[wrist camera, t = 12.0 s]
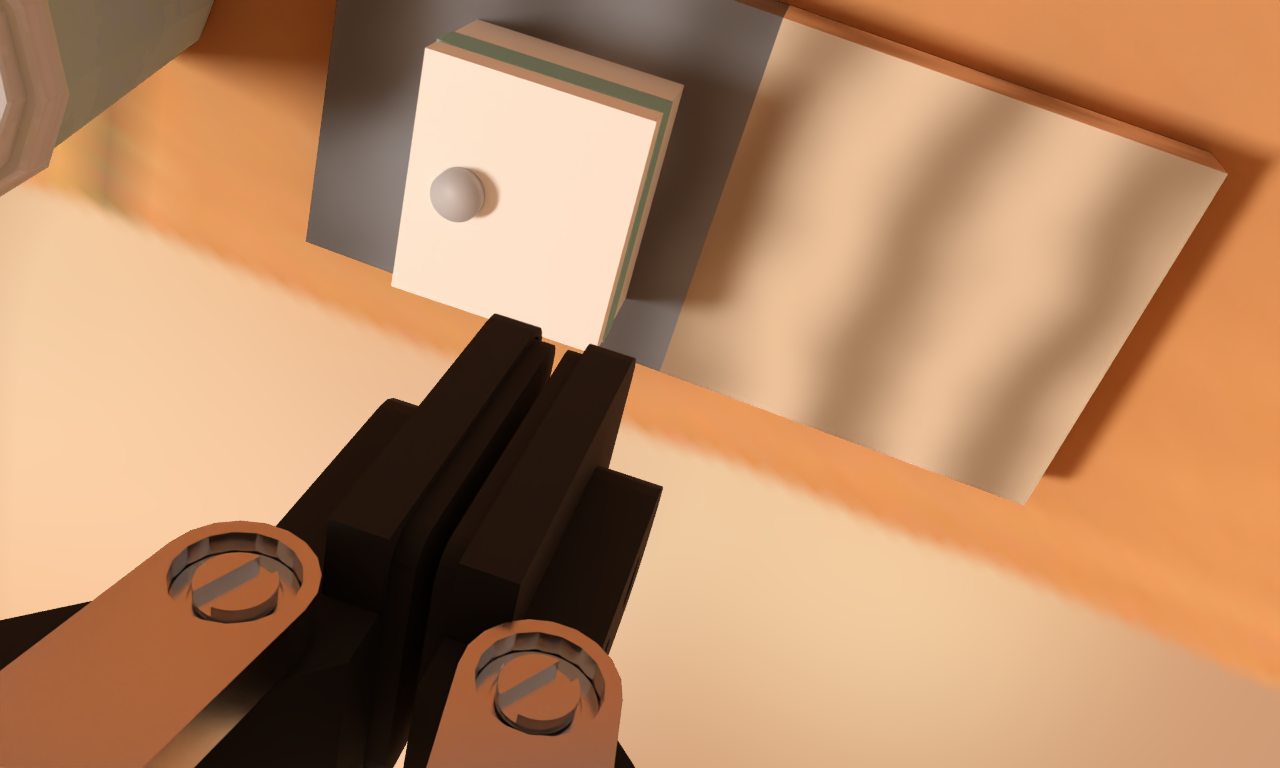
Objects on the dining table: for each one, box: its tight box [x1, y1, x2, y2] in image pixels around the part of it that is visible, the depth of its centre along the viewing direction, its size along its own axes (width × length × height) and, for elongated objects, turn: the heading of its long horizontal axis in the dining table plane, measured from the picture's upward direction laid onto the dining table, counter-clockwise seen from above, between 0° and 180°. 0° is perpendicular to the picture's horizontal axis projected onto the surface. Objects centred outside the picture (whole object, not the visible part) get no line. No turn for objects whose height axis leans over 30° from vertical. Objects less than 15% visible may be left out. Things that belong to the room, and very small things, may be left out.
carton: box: [391, 19, 684, 351], centre depth 39 cm, size 8×9×6 cm
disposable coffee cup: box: [0, 0, 214, 196], centre depth 37 cm, size 11×11×15 cm
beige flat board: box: [306, 0, 1228, 505], centre depth 42 cm, size 32×15×2 cm, turn 74°
